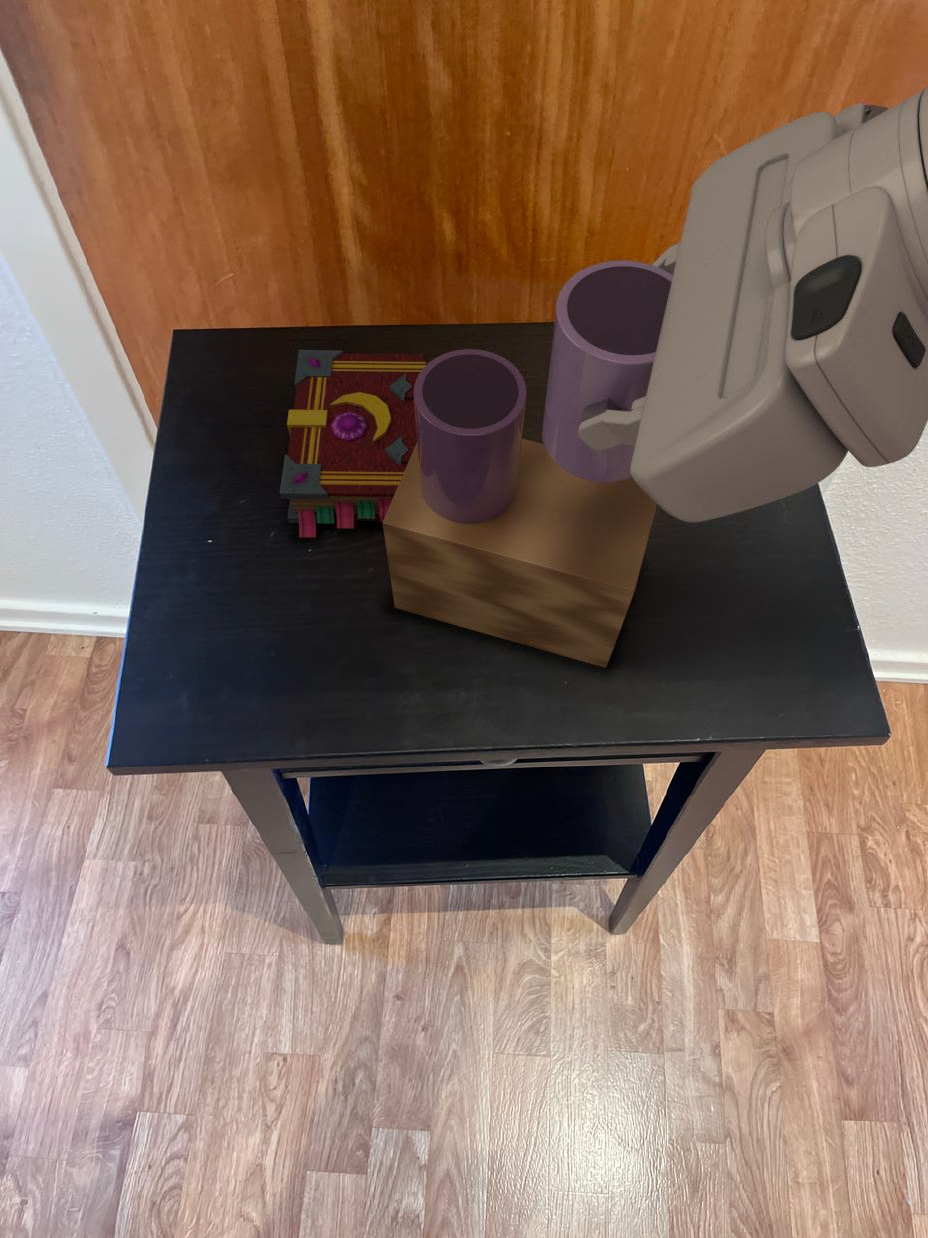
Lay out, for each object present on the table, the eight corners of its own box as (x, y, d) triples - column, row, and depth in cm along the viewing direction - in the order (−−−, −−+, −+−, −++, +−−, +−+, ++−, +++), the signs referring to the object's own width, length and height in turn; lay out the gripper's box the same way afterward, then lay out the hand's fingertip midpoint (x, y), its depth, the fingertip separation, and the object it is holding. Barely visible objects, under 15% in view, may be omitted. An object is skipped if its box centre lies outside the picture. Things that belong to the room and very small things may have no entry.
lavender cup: (684, 432, 48) (728, 305, 40) (609, 504, 46) (639, 386, 38) (592, 370, 50) (616, 238, 42) (517, 436, 48) (526, 311, 40)
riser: (633, 564, 69) (665, 473, 59) (606, 668, 65) (634, 591, 54) (433, 511, 71) (428, 414, 61) (394, 608, 67) (382, 522, 57)
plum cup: (537, 483, 58) (550, 390, 50) (469, 541, 56) (470, 454, 48) (468, 428, 60) (469, 331, 52) (399, 483, 58) (390, 389, 50)
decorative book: (431, 387, 78) (429, 346, 73) (425, 538, 70) (423, 503, 66) (305, 386, 78) (296, 345, 73) (286, 537, 70) (275, 501, 66)
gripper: (863, 26, 37) (604, 193, 46) (827, 385, 28) (516, 496, 38) (922, 143, 40) (669, 274, 50) (906, 495, 31) (602, 570, 41)
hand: (602, 372), depth 44 cm, fingers closed on lavender cup, 6 cm apart
